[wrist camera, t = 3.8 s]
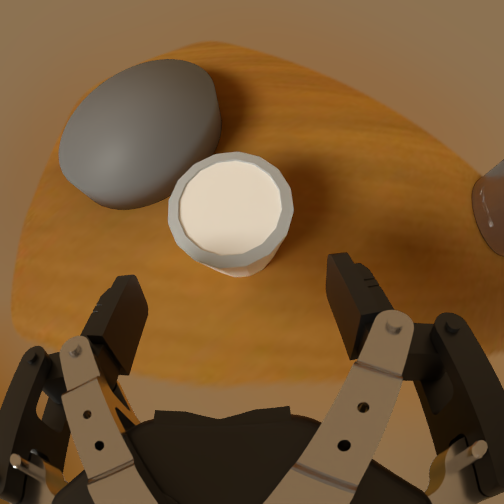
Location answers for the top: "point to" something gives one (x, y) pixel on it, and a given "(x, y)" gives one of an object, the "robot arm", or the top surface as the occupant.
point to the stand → (141, 133)
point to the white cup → (231, 212)
